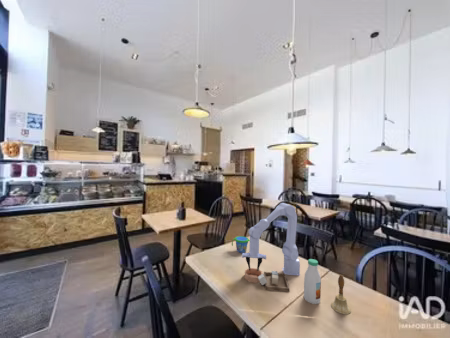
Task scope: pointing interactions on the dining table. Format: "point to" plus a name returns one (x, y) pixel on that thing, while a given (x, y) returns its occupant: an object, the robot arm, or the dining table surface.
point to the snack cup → (241, 243)
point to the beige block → (275, 279)
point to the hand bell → (340, 299)
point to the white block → (262, 279)
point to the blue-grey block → (274, 273)
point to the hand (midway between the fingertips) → (253, 269)
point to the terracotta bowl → (252, 275)
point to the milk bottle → (312, 283)
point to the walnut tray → (281, 282)
